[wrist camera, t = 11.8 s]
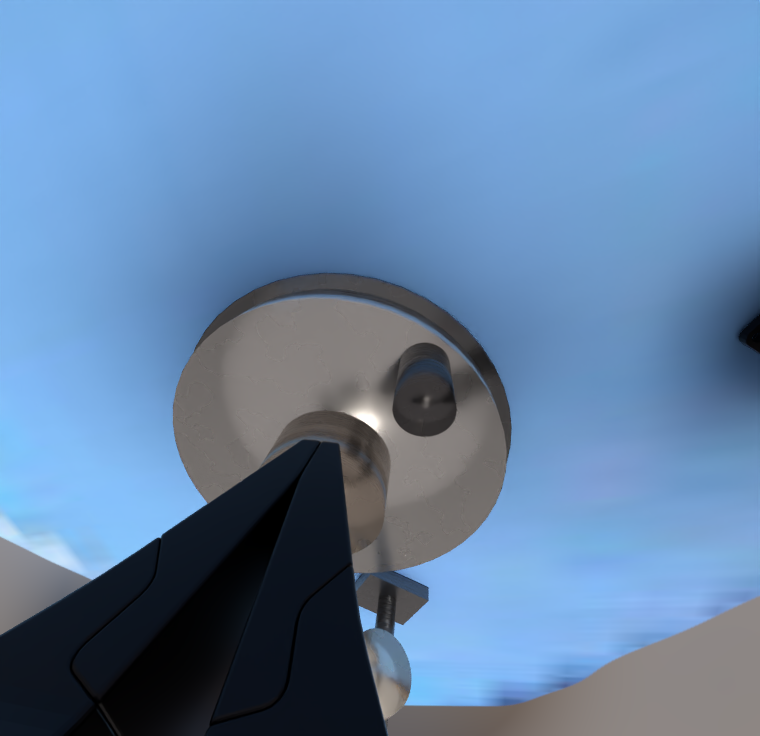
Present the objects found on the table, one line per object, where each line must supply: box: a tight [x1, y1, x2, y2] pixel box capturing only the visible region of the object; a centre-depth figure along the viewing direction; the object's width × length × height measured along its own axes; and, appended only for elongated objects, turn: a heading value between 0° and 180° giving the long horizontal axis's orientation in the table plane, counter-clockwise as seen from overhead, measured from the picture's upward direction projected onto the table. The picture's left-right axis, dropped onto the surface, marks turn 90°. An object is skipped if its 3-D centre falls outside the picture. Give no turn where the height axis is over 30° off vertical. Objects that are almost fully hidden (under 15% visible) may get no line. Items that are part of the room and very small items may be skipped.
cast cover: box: [259, 411, 391, 554], centre depth 18 cm, size 7×7×4 cm
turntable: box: [173, 289, 507, 573], centre depth 19 cm, size 19×19×6 cm
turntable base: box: [194, 273, 511, 463], centre depth 22 cm, size 20×20×1 cm
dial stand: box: [355, 571, 428, 729], centre depth 24 cm, size 6×5×9 cm
